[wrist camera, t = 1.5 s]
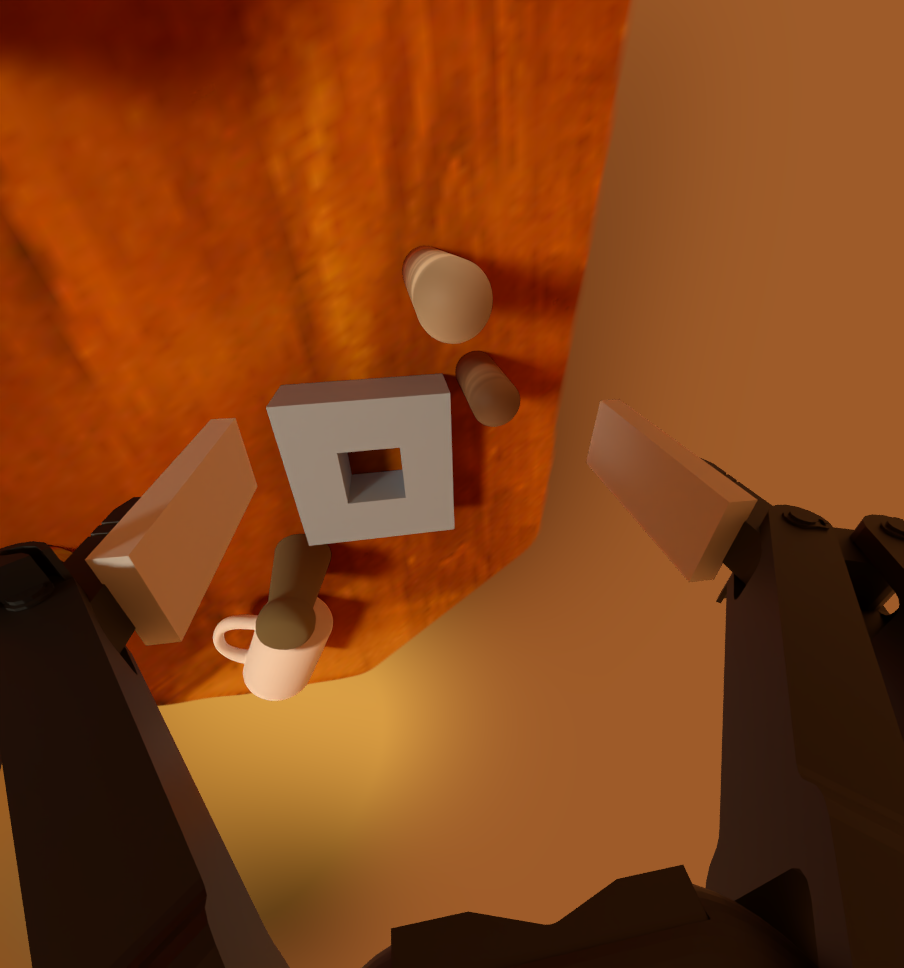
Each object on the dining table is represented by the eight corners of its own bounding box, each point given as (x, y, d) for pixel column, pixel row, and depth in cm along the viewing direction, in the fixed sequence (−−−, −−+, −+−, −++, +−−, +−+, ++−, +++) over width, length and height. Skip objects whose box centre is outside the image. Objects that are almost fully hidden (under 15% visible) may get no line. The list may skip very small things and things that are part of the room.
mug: (337, 597, 48) (329, 655, 42) (316, 645, 53) (306, 704, 46) (232, 578, 44) (205, 639, 38) (219, 631, 49) (193, 694, 42)
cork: (329, 532, 42) (313, 615, 33) (333, 572, 46) (320, 656, 37) (270, 534, 41) (238, 620, 32) (279, 574, 45) (252, 662, 36)
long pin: (400, 246, 29) (411, 259, 16) (447, 244, 29) (494, 255, 17) (404, 299, 31) (418, 345, 18) (449, 296, 31) (491, 341, 19)
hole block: (280, 385, 33) (265, 407, 29) (442, 373, 35) (450, 393, 30) (316, 513, 41) (309, 545, 37) (447, 499, 42) (454, 528, 38)
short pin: (455, 352, 34) (472, 381, 27) (495, 349, 34) (521, 378, 28) (455, 391, 36) (472, 428, 29) (493, 388, 36) (518, 424, 29)
